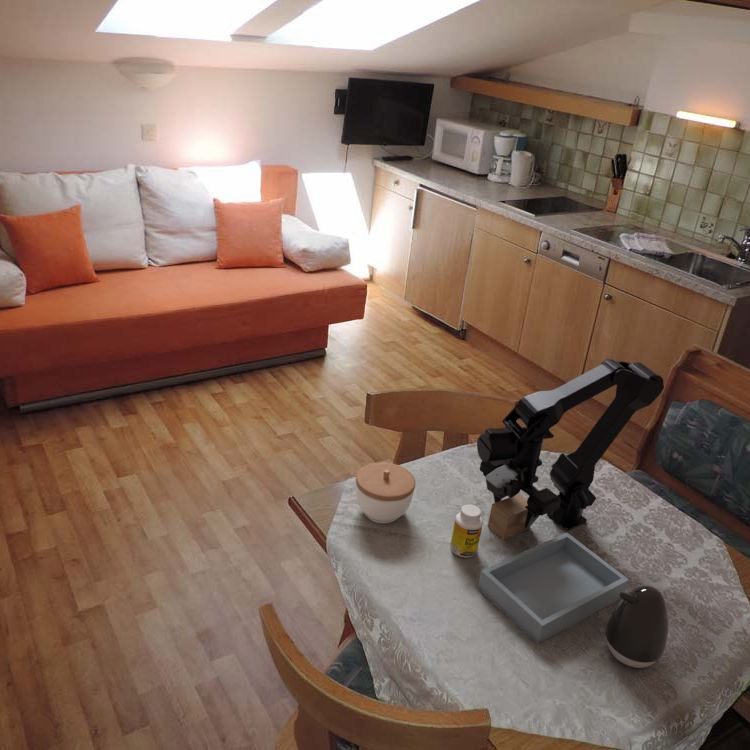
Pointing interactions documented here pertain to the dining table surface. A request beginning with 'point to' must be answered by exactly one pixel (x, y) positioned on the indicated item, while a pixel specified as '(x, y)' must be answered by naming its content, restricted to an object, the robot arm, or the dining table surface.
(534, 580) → the tray
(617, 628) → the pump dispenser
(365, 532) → the dining table surface
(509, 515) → the walnut box
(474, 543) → the supplement bottle
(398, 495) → the lidded bowl
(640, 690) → the dining table surface
